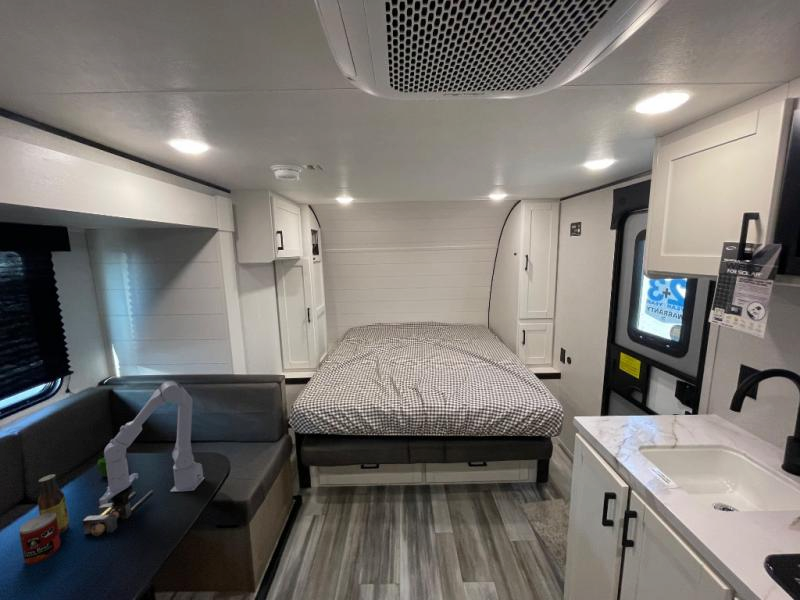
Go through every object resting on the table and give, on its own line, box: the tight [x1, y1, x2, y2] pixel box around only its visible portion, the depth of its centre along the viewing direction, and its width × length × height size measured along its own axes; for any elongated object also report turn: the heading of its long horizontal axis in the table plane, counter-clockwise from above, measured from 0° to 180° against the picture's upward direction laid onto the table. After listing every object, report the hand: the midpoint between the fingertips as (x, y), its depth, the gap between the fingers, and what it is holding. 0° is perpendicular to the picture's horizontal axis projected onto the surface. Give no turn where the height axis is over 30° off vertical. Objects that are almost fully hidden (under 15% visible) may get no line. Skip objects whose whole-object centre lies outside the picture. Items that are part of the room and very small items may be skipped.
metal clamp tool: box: [82, 489, 154, 535], centre depth 118 cm, size 9×20×5 cm, turn 2°
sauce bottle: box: [37, 473, 70, 535], centre depth 109 cm, size 7×6×20 cm
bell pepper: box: [97, 457, 108, 478], centre depth 143 cm, size 8×8×10 cm
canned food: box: [19, 512, 61, 565], centre depth 101 cm, size 8×8×11 cm
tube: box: [91, 509, 121, 537], centre depth 112 cm, size 10×3×3 cm, turn 2°
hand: (122, 508), depth 118 cm, fingers closed
